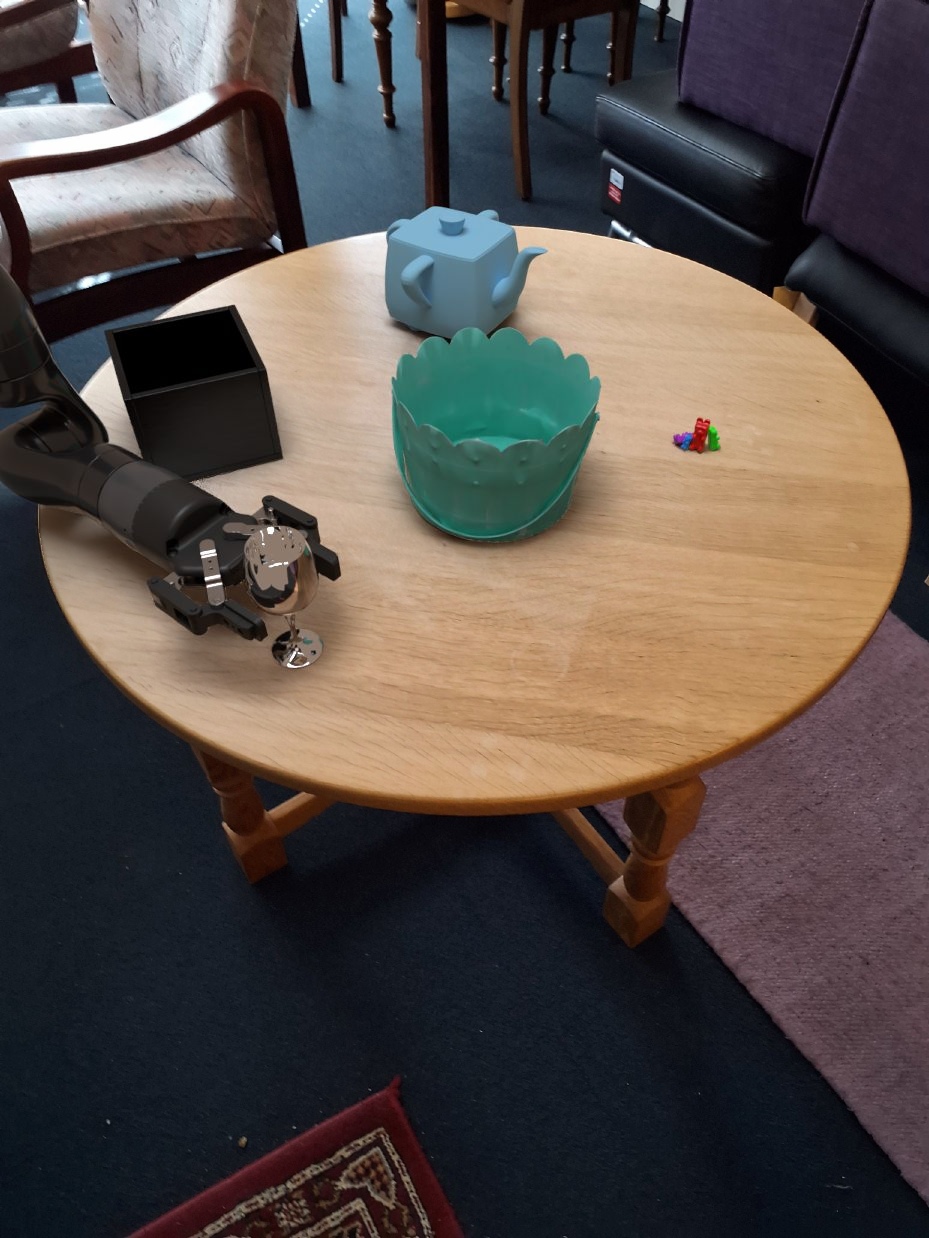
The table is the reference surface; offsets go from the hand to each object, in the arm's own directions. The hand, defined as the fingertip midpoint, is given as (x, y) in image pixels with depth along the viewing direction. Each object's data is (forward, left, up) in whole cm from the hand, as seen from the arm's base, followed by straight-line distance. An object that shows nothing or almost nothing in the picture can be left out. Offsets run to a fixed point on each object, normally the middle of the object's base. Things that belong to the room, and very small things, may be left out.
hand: (301, 600), depth 71 cm
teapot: (+33, +46, -7) cm, 57 cm away
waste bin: (-2, +35, -7) cm, 35 cm away
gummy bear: (+46, +13, -7) cm, 48 cm away
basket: (+23, +15, -7) cm, 28 cm away
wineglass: (-1, +2, -7) cm, 8 cm away
